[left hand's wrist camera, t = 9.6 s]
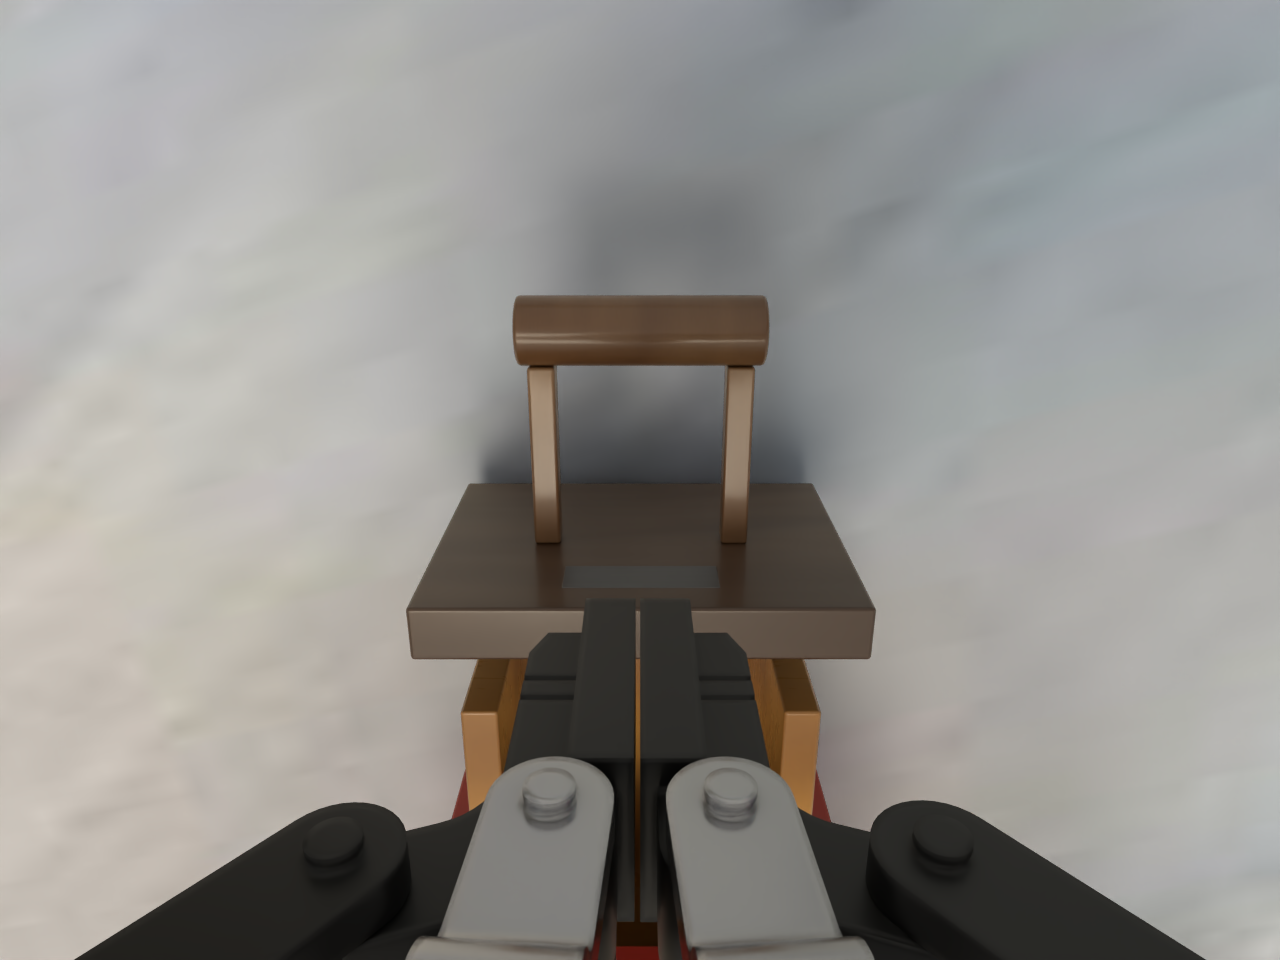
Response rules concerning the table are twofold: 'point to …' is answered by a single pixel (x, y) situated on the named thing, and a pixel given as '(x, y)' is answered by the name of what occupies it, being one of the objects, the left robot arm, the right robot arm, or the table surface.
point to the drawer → (642, 544)
